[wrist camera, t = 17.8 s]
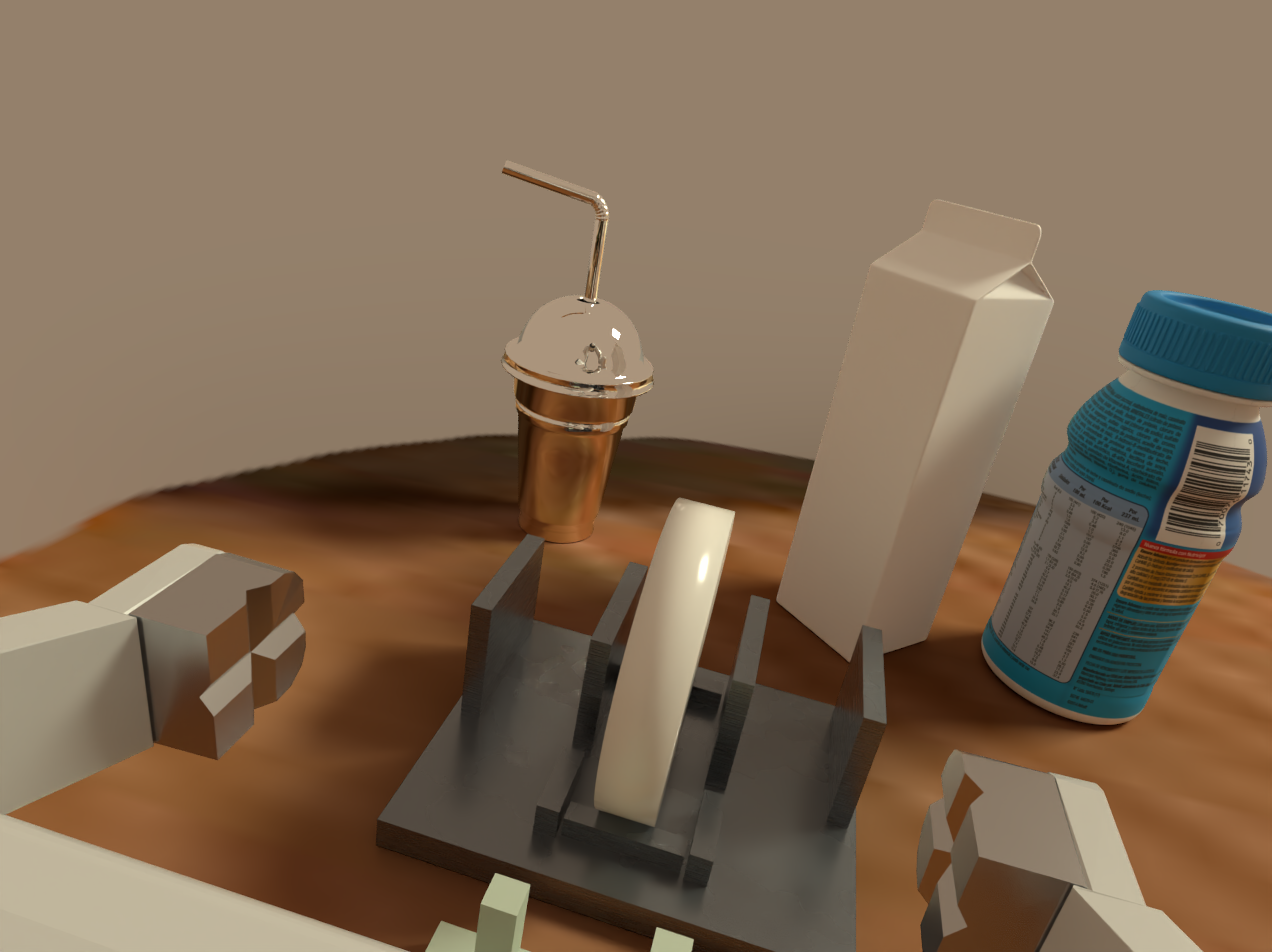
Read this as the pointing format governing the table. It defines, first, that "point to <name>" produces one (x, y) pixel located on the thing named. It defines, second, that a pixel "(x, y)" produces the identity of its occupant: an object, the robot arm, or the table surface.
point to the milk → (915, 425)
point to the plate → (661, 661)
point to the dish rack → (694, 797)
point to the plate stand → (516, 925)
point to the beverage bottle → (1137, 511)
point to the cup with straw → (572, 391)
